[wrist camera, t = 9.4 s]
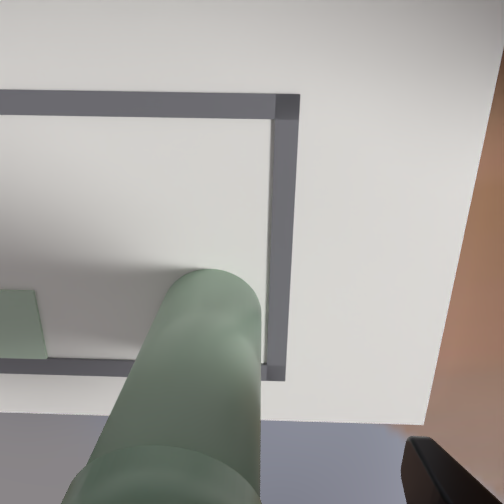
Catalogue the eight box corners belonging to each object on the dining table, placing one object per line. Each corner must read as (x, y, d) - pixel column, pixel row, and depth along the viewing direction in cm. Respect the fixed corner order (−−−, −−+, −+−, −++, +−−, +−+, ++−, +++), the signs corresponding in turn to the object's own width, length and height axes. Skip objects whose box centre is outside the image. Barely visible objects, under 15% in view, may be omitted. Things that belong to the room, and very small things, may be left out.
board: (586, -478, 8) (728, -725, 5) (413, 403, 15) (441, 462, 13) (-485, -468, 8) (-793, -693, 6) (-138, 387, 15) (-209, 441, 13)
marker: (266, 266, 12) (270, 557, 5) (263, 360, 13) (263, 709, 6) (155, 264, 12) (-15, 546, 5) (162, 356, 13) (35, 699, 6)
